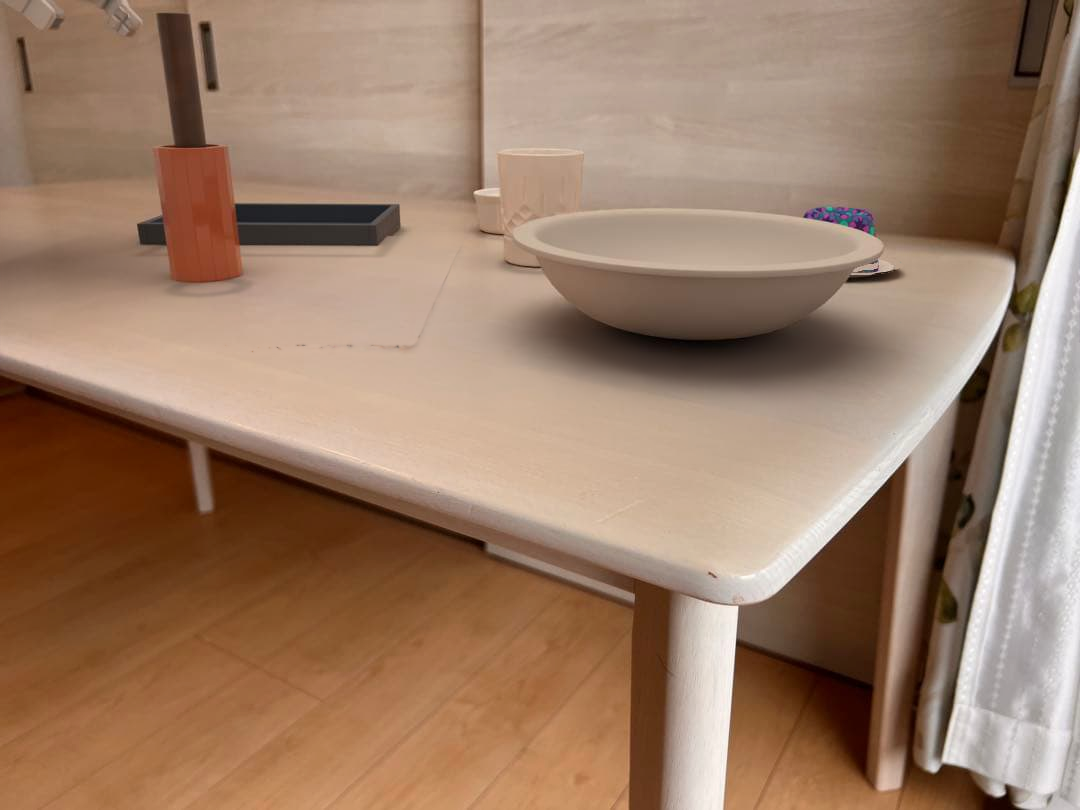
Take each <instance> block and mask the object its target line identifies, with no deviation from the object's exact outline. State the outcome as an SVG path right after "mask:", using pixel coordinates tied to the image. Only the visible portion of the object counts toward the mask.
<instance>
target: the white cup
mask: <svg viewBox="0 0 1080 810" xmlns="http://www.w3.org/2000/svg"><path fill="white" fill-rule="evenodd" d="M584 157H585V152H584V151H582V150H577V149H570V148H569V149H567V148H545V147H543V148H540V147H538V148H532V147H531V148H529V147H528V148H526V147H525V148H507V149H500V150H498V151H497V166H498V188H499V189H500V207H501V213H502V217H501V222H502V229H503V233H504V234H503V258H504V260H505V261H506V262H508V264H512V265H516V266H522V267H538V268H539V267H540V268H541V266H540V265H539V263H538V261H537V258H536V256H535V255H533V254H530V253H528V252H526V251H524V250H522V249H520V248H519V247H517V246H516V245H515V244H514V242H513V239H512V234H513V231H514V230H515V229H516V228H517V227H518V226H520V225H522V224H524V223H527V222H530V221H533V220H536V219H540V218H544V217H549V216H554V215H560V214H567V213H575V212H581V203H582V191H583V190H582V188H583V172H584Z"/></svg>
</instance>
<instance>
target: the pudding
mask: <svg viewBox="0 0 1080 810" xmlns="http://www.w3.org/2000/svg"><path fill="white" fill-rule="evenodd" d="M802 218H807V219H814V220H819V221H825V222H830V223H835V224H839V225H843V226H847V227H851V228H854V229H858V230H860V231H863V232H866V233H868V234H870V235H873V236H874V237H876V238H877V236H876V226H875V219H874V216H873V214H872V212H870V211H869V210H865V209H860V208H854V207H841V206H830V207H828V206H819V207H814V208H810V209H808V210H807V211H806V212H805V213H804V215H803V217H802ZM877 262H878V263H879V265H878V268H877V269H874V270H862V271H858V272H852V273H877V272H886V271H890V270H891V269H893V265H891V264H890V263H888V262H886V261H883V260H879V259H878V260H876V261H874V262H872V263H869V264H874V263H877ZM875 275H876V274H872V275H850V276H849V278H863V277H870V276H875Z"/></svg>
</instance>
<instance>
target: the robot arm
mask: <svg viewBox="0 0 1080 810" xmlns="http://www.w3.org/2000/svg"><path fill="white" fill-rule="evenodd" d="M66 1H68V2H75V3H83V4H90V5H94V6H95V7H96V8H97V9H99V10H103V11H104V13H105V14H106V16H107V17H108V20H107V22H106V24H107V25H109V26H110V27H111V28H112V29H113V30H114V31H115V32H116V33H117V35H119V36H120V37H123V38H129V39H130V38H132V39H135V38H137V37H138V35H139V34H140V33H141V31H142V30H143V28H144V21H143V19H142V18H141V17H139V15H138V14H137V13H136V12H135V11H134V10H133V9H132V8H131V6H130V4H129V2H128V0H66ZM0 2H2V3H3V4H5V5H6V6H8V7H10V8H11V9H13V10H14V11H16V12H18V13H20V14H22V15H23V16H24V18H26V19H27V20H28V21H29V22H31V24H32V25H33V26H34V27H35V28H36V29H38V30H40V31H51V32H52V31H54V32H55V31H58V30H59V29H60V28H61V24H63V23H64V21H65V20H66V12H65V10H64V9H62V7H60V6H58V4H57V2H56V1H55V0H0Z"/></svg>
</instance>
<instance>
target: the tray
mask: <svg viewBox="0 0 1080 810" xmlns="http://www.w3.org/2000/svg"><path fill="white" fill-rule="evenodd" d="M235 210H236V219H237V227H238V236H239V244H240V246H317V247H318V246H321V247H324V246H327V247H329V246H333V247H334V246H337V247H339V246H340V247H341V246H342V247H378V246H379V245H380V244H381V243H382V242H383V241H384V240H385V239H386V237H393V236H394V234H395V233H396V232H397V231H398V230H399V229H400V228H401V225H402V224H401V207H400V203H298V202H297V203H295V202H294V203H288V202H287V203H285V202H284V203H283V202H282V203H280V202H278V203H277V202H274V203H273V202H272V203H271V202H268V203H267V202H265V203H263V202H235ZM136 227H137V234H138V239H139V244H140V246H141V245H145V246H146V245H150V246H153V245H155V246H157V245H158V246H159V245H162V246H167V243H166V237H165V230H164V223H163V216H162V214H159V215H158V216H155V217H152V218H150V219H146V220H143V221H141V222H138V223H136Z"/></svg>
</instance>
